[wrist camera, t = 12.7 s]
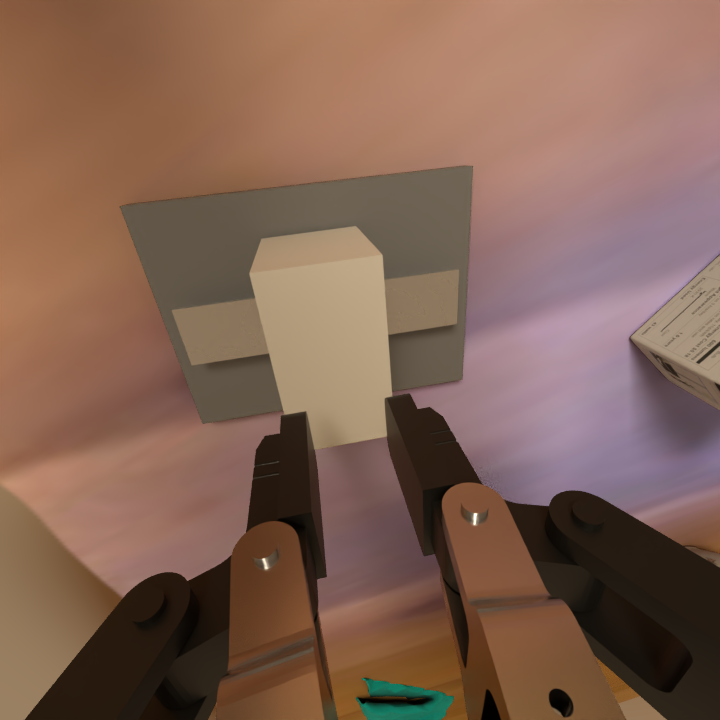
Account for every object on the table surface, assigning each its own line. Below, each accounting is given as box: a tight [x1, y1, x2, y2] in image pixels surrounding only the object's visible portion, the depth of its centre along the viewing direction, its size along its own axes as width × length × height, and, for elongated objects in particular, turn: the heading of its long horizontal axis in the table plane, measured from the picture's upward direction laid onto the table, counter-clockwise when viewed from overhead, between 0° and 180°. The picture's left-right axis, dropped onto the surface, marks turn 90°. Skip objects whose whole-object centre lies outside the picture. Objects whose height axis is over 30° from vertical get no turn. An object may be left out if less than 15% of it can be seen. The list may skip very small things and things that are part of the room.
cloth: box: [356, 678, 454, 720], centre depth 49 cm, size 26×14×2 cm, turn 9°
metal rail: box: [172, 268, 459, 365], centre depth 19 cm, size 3×14×1 cm, turn 96°
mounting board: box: [120, 166, 473, 424], centre depth 20 cm, size 12×16×1 cm
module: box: [249, 226, 392, 450], centre depth 17 cm, size 8×4×6 cm, turn 6°
